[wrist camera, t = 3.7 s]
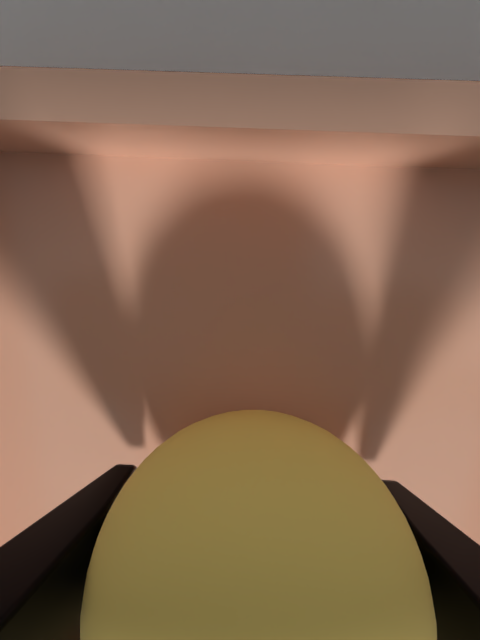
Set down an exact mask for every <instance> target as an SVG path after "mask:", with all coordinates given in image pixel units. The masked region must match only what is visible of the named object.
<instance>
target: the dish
mask: <svg viewBox="0 0 480 640" xmlns="http://www.w3.org/2000/svg"><path fill="white" fill-rule="evenodd" d="M239 410H267V411H275V412H280V413H284V414H288V415H292V416H295V417H298V418H300V419H303V420H306V421H308V422H311V423H313V424H315V425H317V426H319V427H321V428H323V429H325V430H327V431H328V432H330V433H331V434H333V435H334V436H336V437H337V438H339V439H340V440H341V441H343V442H344V443H345V444H347V445H348V446H349V447H351V448H352V449H353V450H354V451H355V452H356V453H357V454H358V455H359V456H361V457H362V458H363V459H364V460H365V461H366V462H367V464H368V465H369V466H370V467H371V468H372V469H373V470H374V471H375V473H376V474H377V475H378V476H379V478H380V479H381V480H394V481H397V482H399V483H400V484H401V485H403V486H404V487H405V488H407V489H408V490H409V491H410V492H412V493H413V494H414V495H416V496H417V497H418V498H419V499H421V500H422V501H423V502H425V503H426V504H427V505H429V506H430V507H431V508H432V509H434V510H435V511H436V512H438V513H439V514H440V515H441V516H443V517H444V518H445V519H447V520H448V521H449V522H450V523H452V524H453V525H454V526H456V527H457V528H458V529H459V530H461V531H462V532H463V533H465V534H466V535H467V536H469V537H470V538H471V539H472V540H474V541H475V542H476V543H478V544H479V545H480V81H464V80H432V79H400V78H369V77H337V76H305V75H273V74H241V73H210V72H178V71H146V70H114V69H83V68H51V67H19V66H0V547H1V546H2V545H3V544H5V543H6V542H8V541H9V540H10V539H12V538H13V537H15V536H16V535H18V534H19V533H20V532H22V531H23V530H25V529H26V528H27V527H29V526H30V525H32V524H33V523H34V522H36V521H37V520H39V519H40V518H42V517H43V516H44V515H46V514H47V513H49V512H50V511H51V510H53V509H54V508H56V507H57V506H58V505H60V504H61V503H63V502H64V501H66V500H67V499H68V498H70V497H71V496H73V495H74V494H75V493H77V492H78V491H80V490H81V489H82V488H84V487H85V486H87V485H88V484H89V483H91V482H92V481H94V480H95V479H97V478H98V477H99V476H101V475H102V474H104V473H105V472H106V471H108V470H109V469H111V468H112V467H113V466H115V465H117V464H128V465H135V466H136V467H137V468H138V466H139V465H140V464H141V463H142V462H143V461H144V459H145V458H146V457H148V456H149V455H150V454H151V453H152V452H153V451H154V450H155V449H156V448H157V447H158V446H159V445H161V444H162V443H163V442H165V441H166V440H167V439H169V438H170V437H171V436H173V435H174V434H176V433H177V432H178V431H180V430H182V429H184V428H186V427H187V426H189V425H191V424H193V423H196V422H198V421H201V420H203V419H206V418H209V417H211V416H214V415H218V414H222V413H226V412H231V411H239Z"/></svg>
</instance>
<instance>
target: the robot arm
mask: <svg viewBox="0 0 480 640" xmlns="http://www.w3.org/2000/svg"><path fill="white" fill-rule="evenodd" d="M136 469H137V467H136V466H135V465H128V464H117V465H115V466H113V467H112V468H111V469H109V470H108V471H106V472H105V473H104V474H102V475H101V476H99V477H98V478H97V479H95V480H94V481H92V482H91V483H89V484H88V485H87V486H85V487H84V488H82V489H81V490H80V491H78V492H77V493H75V494H74V495H73V496H71V497H70V498H68V499H67V500H66V501H64V502H63V503H61V504H60V505H58V506H57V507H56V508H54V509H53V510H51V511H50V512H49V513H47V514H46V515H44V516H43V517H42V518H40V519H39V520H37V521H36V522H34V523H33V524H32V525H30V526H29V527H27V528H26V529H25V530H23V531H22V532H20V533H19V534H18V535H16V536H15V537H13V538H12V539H10V540H9V541H8V542H6V543H5V544H3V545H2V546H1V547H0V640H80V615H81V608H82V601H83V594H84V587H85V581H86V575H87V570H88V567H89V563H90V560H91V556H92V552H93V549H94V546H95V543H96V540H97V537H98V534H99V532H100V530H101V527H102V525H103V523H104V520H105V518H106V516H107V514H108V512H109V510H110V508H111V506H112V504H113V503H114V501H115V499H116V497H117V496H118V494H119V492H120V491H121V489H122V487H123V486H124V484H125V483H126V482H127V480H128V479H129V478H130V476H131V475H132V474H133V472H134V471H135V470H136ZM382 481H383V482H384V484H385V485H386V486H387V488H388V489H389V491H390V493H391V494H392V496H393V497H394V499H395V500H396V502H397V504H398V505H399V507H400V509H401V510H402V512H403V514H404V516H405V517H406V520H407V522H408V524H409V526H410V528H411V531H412V533H413V535H414V537H415V540H416V542H417V545H418V547H419V550H420V553H421V555H422V559H423V562H424V565H425V569H426V572H427V575H428V578H429V583H430V588H431V593H432V599H433V605H434V611H435V617H436V623H437V640H480V545H479V544H478V543H476V542H475V541H474V540H472V539H471V538H470V537H469V536H467V535H466V534H465V533H463V532H462V531H461V530H459V529H458V528H457V527H456V526H454V525H453V524H452V523H450V522H449V521H448V520H447V519H445V518H444V517H443V516H441V515H440V514H439V513H438V512H436V511H435V510H434V509H432V508H431V507H430V506H429V505H427V504H426V503H425V502H423V501H422V500H421V499H419V498H418V497H417V496H416V495H414V494H413V493H412V492H410V491H409V490H408V489H407V488H405V487H404V486H403V485H401V484H400V483H399V482H397V481H394V480H382Z"/></svg>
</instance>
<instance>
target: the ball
mask: <svg viewBox="0 0 480 640" xmlns="http://www.w3.org/2000/svg"><path fill="white" fill-rule="evenodd" d="M80 640H437V623H436V617H435V611H434V605H433V599H432V593H431V588H430V583H429V578H428V575H427V572H426V569H425V565H424V562H423V559H422V555H421V553H420V550H419V547H418V545H417V542H416V540H415V537H414V535H413V533H412V531H411V528H410V526H409V524H408V522H407V520H406V517H405V516H404V514H403V512H402V510H401V509H400V507H399V505H398V504H397V502H396V500H395V499H394V497H393V496H392V494H391V493H390V491H389V489H388V488H387V486H386V485H385V484H384V482H383V481H382V480H381V479H380V478H379V476H378V475H377V474H376V473H375V471H374V470H373V469H372V468H371V467H370V466H369V465H368V464H367V462H366V461H365V460H364V459H363V458H362V457H361V456H359V455H358V454H357V453H356V452H355V451H354V450H353V449H352V448H351V447H349V446H348V445H347V444H345V443H344V442H343V441H341V440H340V439H339V438H337V437H336V436H334V435H333V434H331V433H330V432H328V431H327V430H325V429H323V428H321V427H319V426H317V425H315V424H313V423H311V422H308V421H306V420H303V419H300V418H298V417H295V416H292V415H288V414H284V413H280V412H275V411H267V410H239V411H231V412H226V413H222V414H218V415H214V416H211V417H209V418H206V419H203V420H201V421H198V422H196V423H193V424H191V425H189V426H187V427H186V428H184V429H182V430H180V431H178V432H177V433H176V434H174V435H173V436H171V437H170V438H169V439H167V440H166V441H165V442H163V443H162V444H161V445H159V446H158V447H157V448H156V449H155V450H154V451H153V452H152V453H151V454H150V455H149V456H148V457H146V458H145V459H144V461H143V462H142V463H141V464H140V465H139V466H138V468H137V469H136V470H135V471H134V472H133V474H132V475H131V476H130V478H129V479H128V480H127V482H126V483H125V484H124V486H123V487H122V489H121V491H120V492H119V494H118V496H117V497H116V499H115V501H114V503H113V504H112V506H111V508H110V510H109V512H108V514H107V516H106V518H105V520H104V523H103V525H102V527H101V530H100V532H99V534H98V537H97V540H96V543H95V546H94V549H93V552H92V556H91V560H90V563H89V567H88V570H87V575H86V581H85V587H84V594H83V601H82V608H81V615H80Z"/></svg>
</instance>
